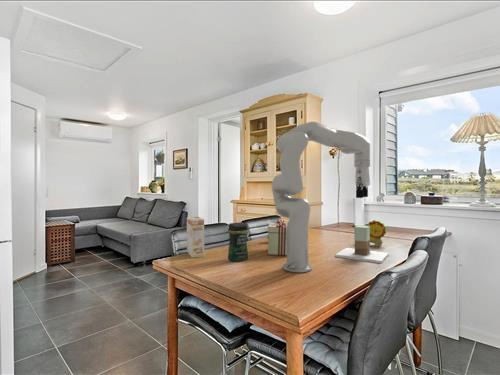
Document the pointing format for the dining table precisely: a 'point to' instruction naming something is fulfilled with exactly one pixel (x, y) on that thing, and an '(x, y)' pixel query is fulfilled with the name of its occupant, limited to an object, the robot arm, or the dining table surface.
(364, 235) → the sage block
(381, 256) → the board
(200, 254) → the coffeecake box
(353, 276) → the dining table surface
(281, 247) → the gift box
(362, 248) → the walnut block
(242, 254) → the coffee jar
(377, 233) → the toy lion
